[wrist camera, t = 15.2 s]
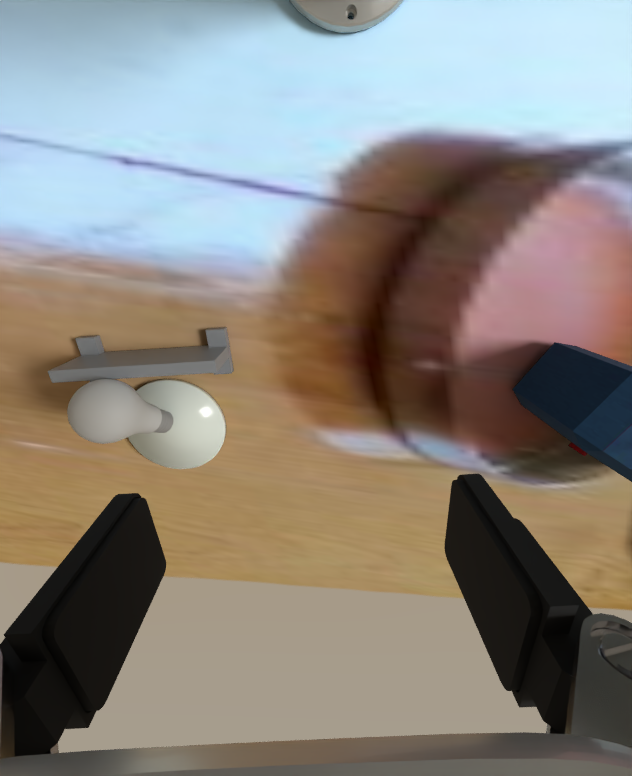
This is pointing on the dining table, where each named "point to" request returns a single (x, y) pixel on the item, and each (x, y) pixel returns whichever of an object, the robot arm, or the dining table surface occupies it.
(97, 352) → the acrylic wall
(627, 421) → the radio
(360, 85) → the dining table surface
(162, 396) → the white round dome
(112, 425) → the lightbulb
